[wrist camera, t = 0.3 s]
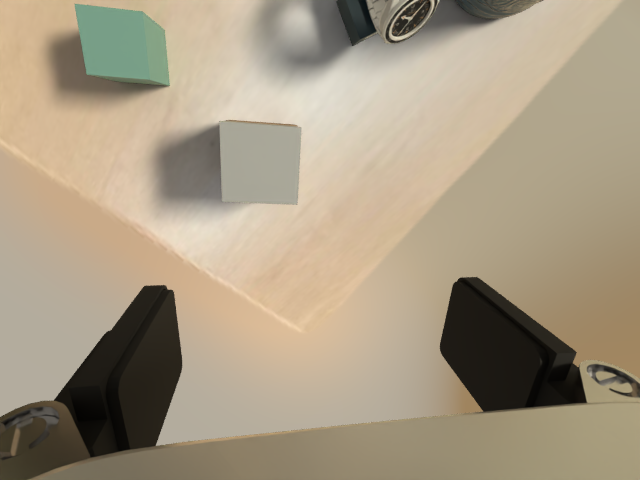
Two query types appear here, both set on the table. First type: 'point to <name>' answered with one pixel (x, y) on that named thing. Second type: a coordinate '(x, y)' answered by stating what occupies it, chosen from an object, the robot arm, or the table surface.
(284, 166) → the top block
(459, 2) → the canister
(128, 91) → the table surface
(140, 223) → the table surface
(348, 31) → the watch
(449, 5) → the table surface
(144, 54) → the stack block
